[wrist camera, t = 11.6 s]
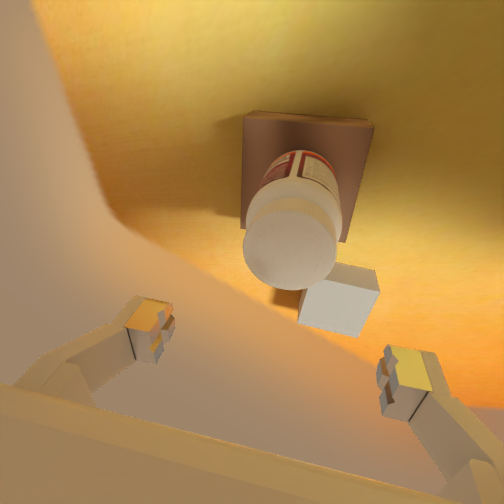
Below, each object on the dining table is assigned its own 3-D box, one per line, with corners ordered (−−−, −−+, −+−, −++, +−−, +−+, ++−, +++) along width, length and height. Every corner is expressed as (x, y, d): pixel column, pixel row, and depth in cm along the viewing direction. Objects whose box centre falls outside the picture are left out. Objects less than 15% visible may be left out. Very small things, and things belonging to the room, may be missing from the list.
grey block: (374, 269, 33) (380, 292, 30) (354, 313, 37) (357, 337, 34) (312, 255, 34) (311, 276, 31) (299, 300, 38) (297, 323, 34)
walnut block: (367, 119, 25) (374, 128, 22) (342, 223, 31) (345, 242, 28) (253, 110, 27) (243, 117, 23) (248, 211, 32) (240, 228, 29)
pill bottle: (264, 215, 28) (234, 292, 18) (265, 146, 24) (229, 198, 15) (332, 219, 27) (337, 304, 17) (342, 149, 23) (355, 206, 14)
